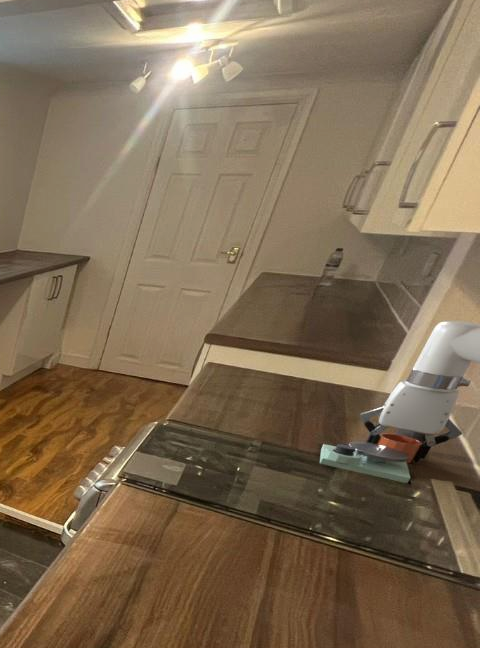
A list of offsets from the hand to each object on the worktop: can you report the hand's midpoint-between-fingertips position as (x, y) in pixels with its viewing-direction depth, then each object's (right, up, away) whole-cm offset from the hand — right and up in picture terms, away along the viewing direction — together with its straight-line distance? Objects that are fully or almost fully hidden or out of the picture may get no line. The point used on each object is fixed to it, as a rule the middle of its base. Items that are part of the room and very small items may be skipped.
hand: (391, 454), depth 133 cm
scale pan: (-9, -3, -3) cm, 10 cm away
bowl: (0, -1, 0) cm, 1 cm away
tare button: (-16, 0, -5) cm, 17 cm away
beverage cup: (+10, +1, +6) cm, 11 cm away
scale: (-11, -3, -4) cm, 12 cm away
